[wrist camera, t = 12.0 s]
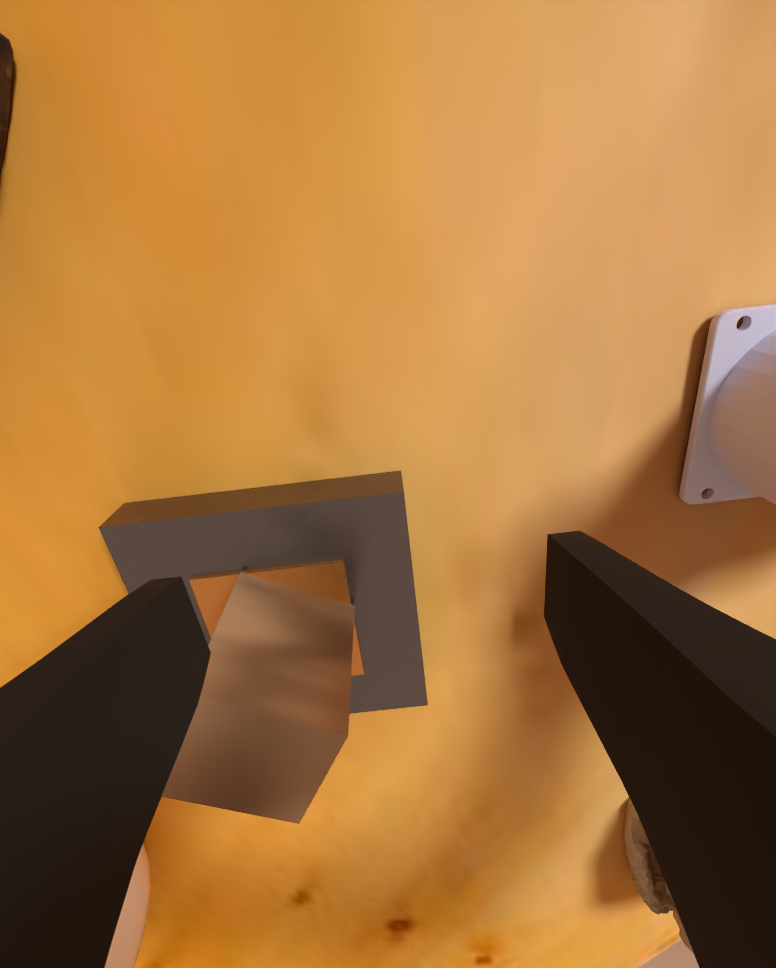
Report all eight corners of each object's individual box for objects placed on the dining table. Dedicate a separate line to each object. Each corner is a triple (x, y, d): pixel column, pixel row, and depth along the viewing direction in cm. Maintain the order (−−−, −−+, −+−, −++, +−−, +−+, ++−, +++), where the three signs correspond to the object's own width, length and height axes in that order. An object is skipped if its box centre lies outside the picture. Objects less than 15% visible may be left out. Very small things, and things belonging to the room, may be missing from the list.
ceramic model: (638, 751, 28) (764, 979, 19) (817, 741, 28) (1026, 963, 19) (602, 871, 34) (685, 1088, 25) (750, 862, 34) (884, 1075, 25)
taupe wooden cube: (355, 605, 20) (348, 735, 14) (317, 683, 21) (299, 823, 16) (240, 571, 19) (186, 696, 13) (212, 656, 21) (155, 795, 15)
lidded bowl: (135, 890, 33) (32, 1158, 23) (-50, 837, 30) (-265, 1125, 20) (216, 805, 29) (134, 1086, 19) (12, 731, 25) (-219, 1028, 15)
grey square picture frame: (400, 470, 19) (404, 494, 17) (423, 672, 24) (428, 708, 22) (123, 503, 20) (95, 529, 18) (204, 696, 25) (189, 733, 23)
